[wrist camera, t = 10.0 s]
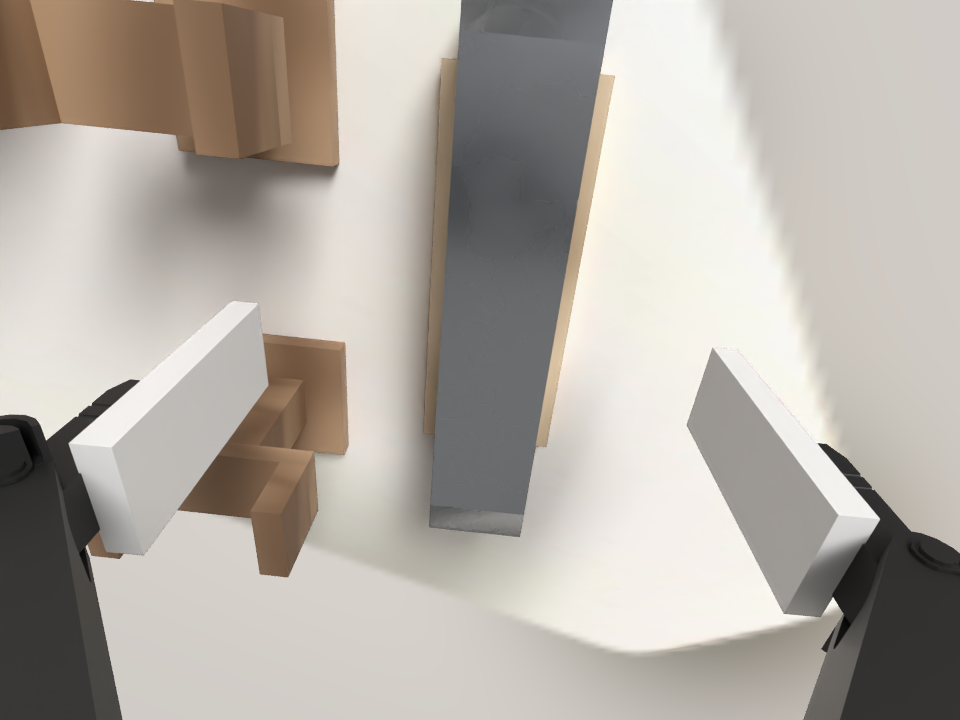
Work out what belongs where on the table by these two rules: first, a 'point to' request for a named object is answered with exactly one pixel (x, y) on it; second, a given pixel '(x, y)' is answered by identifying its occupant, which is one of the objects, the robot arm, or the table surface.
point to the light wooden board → (441, 241)
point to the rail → (508, 244)
